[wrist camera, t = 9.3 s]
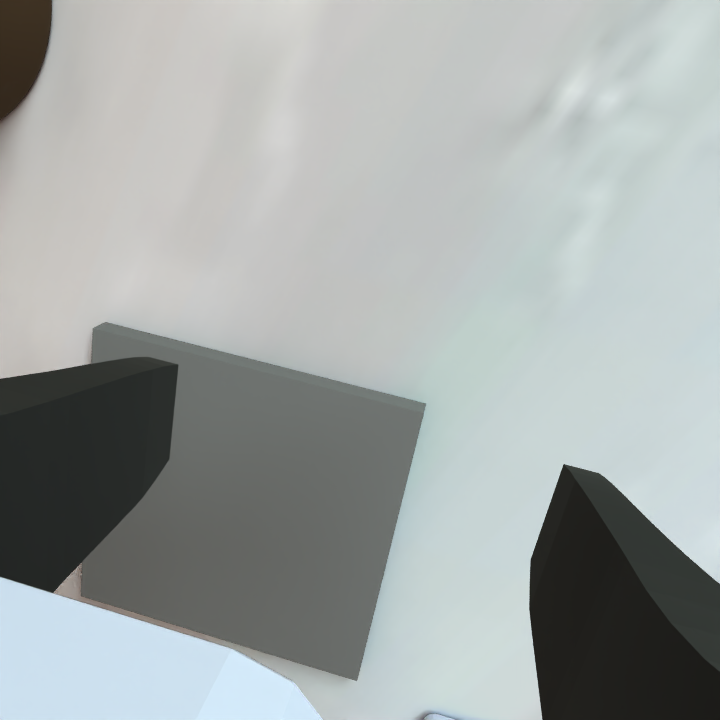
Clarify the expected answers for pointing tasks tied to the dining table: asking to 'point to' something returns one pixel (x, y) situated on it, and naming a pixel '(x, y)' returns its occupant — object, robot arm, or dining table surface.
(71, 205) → the dining table surface
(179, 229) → the dining table surface
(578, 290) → the dining table surface
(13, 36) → the olive oil
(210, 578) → the mat
